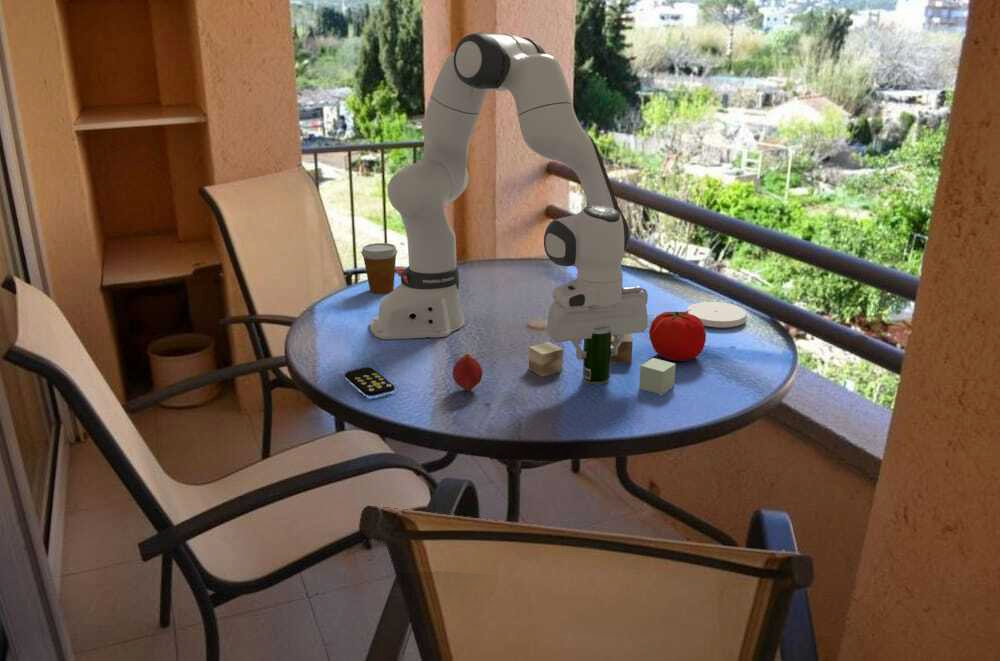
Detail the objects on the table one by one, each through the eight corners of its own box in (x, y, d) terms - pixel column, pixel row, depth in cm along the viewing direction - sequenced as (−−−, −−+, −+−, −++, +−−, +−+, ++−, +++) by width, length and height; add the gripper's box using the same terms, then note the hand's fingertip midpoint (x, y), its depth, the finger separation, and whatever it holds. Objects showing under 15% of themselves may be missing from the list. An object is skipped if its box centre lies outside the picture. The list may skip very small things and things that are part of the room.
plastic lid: (757, 322, 201) (758, 312, 200) (720, 335, 193) (721, 325, 192) (710, 307, 211) (711, 298, 210) (673, 320, 203) (674, 310, 202)
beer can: (597, 387, 166) (599, 331, 162) (577, 379, 170) (578, 324, 165) (615, 379, 169) (617, 324, 165) (594, 372, 173) (596, 317, 169)
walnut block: (607, 363, 178) (608, 341, 176) (606, 354, 182) (607, 332, 181) (631, 363, 178) (632, 341, 176) (629, 354, 182) (630, 333, 180)
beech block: (542, 377, 171) (542, 354, 170) (528, 368, 175) (528, 346, 174) (562, 371, 174) (562, 349, 172) (548, 363, 178) (548, 341, 176)
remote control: (370, 373, 175) (370, 364, 174) (397, 395, 165) (397, 385, 164) (343, 380, 172) (342, 371, 171) (368, 402, 162) (367, 393, 161)
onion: (447, 390, 165) (445, 352, 163) (468, 381, 169) (467, 345, 166) (467, 399, 162) (466, 361, 159) (488, 390, 165) (488, 352, 162)
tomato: (711, 353, 182) (715, 308, 179) (694, 371, 173) (697, 325, 169) (658, 343, 188) (661, 299, 184) (639, 360, 179) (642, 315, 175)
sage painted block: (661, 395, 163) (663, 371, 161) (639, 388, 166) (640, 365, 164) (674, 386, 166) (675, 363, 165) (651, 380, 169) (653, 357, 167)
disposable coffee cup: (360, 287, 228) (357, 244, 224) (394, 283, 231) (392, 241, 227) (368, 297, 220) (365, 253, 216) (403, 293, 223) (401, 249, 219)
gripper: (641, 281, 168) (637, 344, 173) (544, 290, 163) (544, 356, 168) (655, 290, 163) (651, 356, 168) (556, 300, 157) (555, 368, 162)
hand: (596, 356), depth 168 cm, fingers closed on beer can, 5 cm apart
